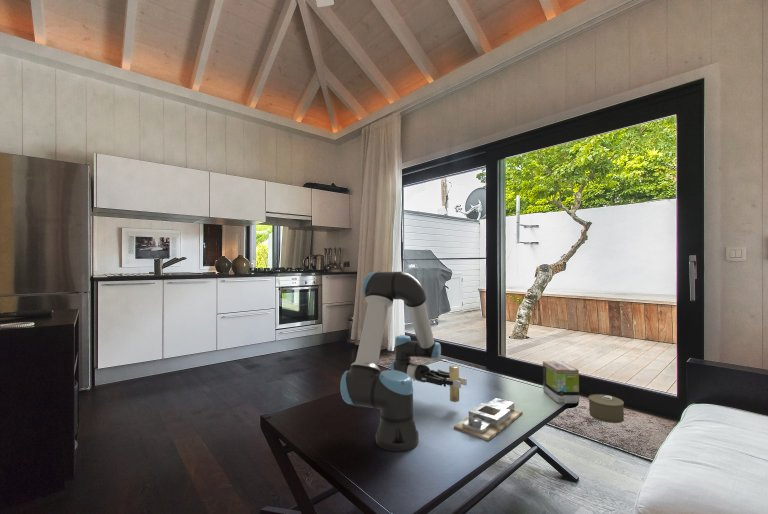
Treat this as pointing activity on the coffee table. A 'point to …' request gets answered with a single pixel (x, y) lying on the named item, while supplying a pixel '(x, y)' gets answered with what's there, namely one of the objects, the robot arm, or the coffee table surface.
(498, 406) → the metal square socket
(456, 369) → the pin
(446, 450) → the coffee table surface
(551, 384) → the tea box
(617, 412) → the olive round block
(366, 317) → the robot arm
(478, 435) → the joining board
